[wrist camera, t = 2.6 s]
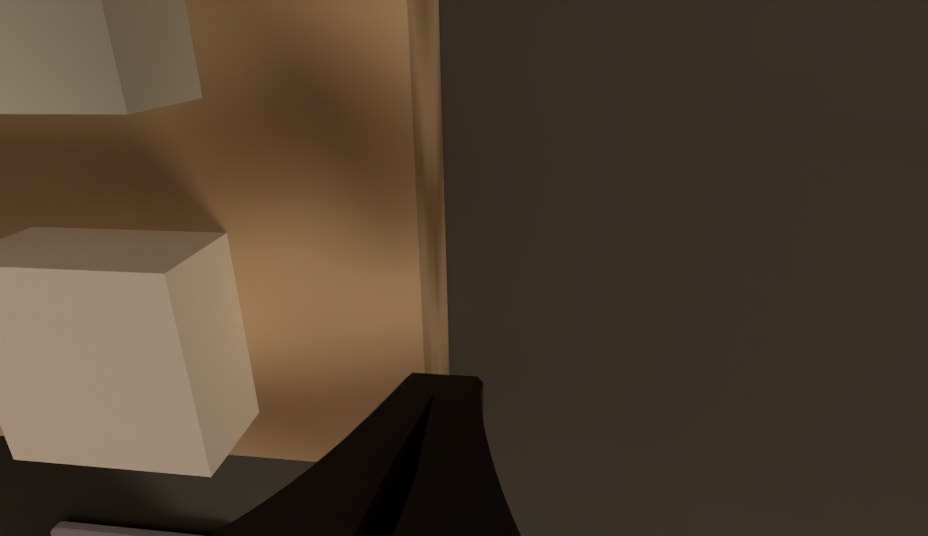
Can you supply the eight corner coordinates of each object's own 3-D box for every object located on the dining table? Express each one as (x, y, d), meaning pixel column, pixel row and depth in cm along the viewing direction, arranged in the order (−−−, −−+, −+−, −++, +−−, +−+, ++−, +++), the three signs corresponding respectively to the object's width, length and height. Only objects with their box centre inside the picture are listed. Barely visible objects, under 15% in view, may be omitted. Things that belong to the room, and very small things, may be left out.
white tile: (259, 412, 15) (211, 477, 13) (86, 399, 16) (13, 459, 14) (226, 232, 13) (164, 273, 11) (32, 226, 14) (-63, 264, 12)
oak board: (449, 394, 19) (429, 470, 15) (53, 368, 20) (-39, 432, 17) (431, -238, 12) (391, -327, 9) (-135, -196, 14) (-333, -259, 11)
